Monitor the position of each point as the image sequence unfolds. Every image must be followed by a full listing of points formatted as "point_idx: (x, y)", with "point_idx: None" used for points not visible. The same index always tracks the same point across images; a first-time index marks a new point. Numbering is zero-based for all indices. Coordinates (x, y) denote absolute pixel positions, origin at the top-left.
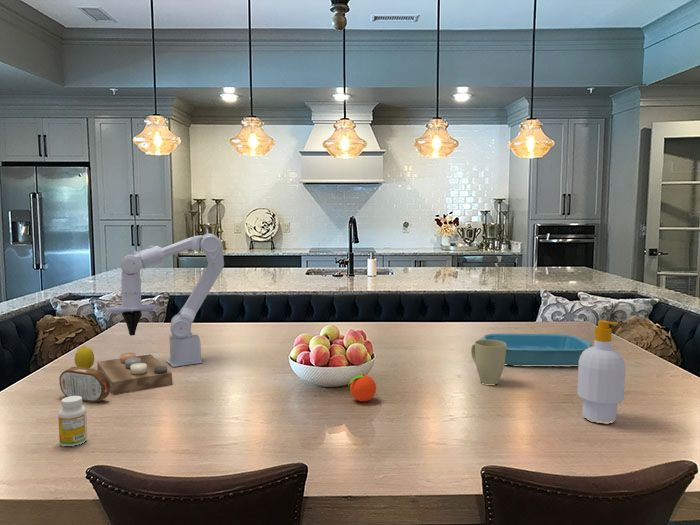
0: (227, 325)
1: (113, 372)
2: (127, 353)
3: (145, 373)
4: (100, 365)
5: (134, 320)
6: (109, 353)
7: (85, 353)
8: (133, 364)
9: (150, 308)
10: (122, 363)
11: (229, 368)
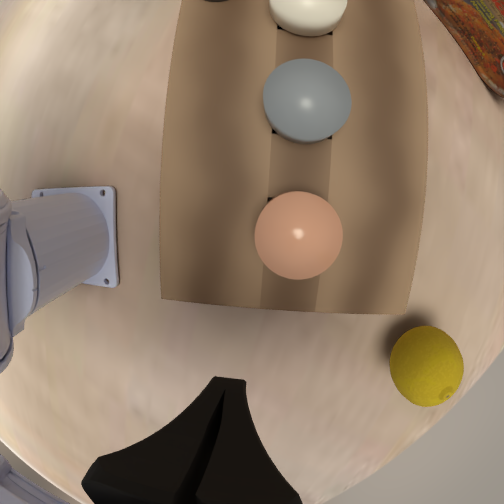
0: (15, 448)
1: (400, 84)
2: (294, 261)
3: None
4: (418, 241)
5: (188, 453)
6: None
7: (448, 354)
8: (328, 14)
9: (12, 489)
10: None
11: (13, 93)
